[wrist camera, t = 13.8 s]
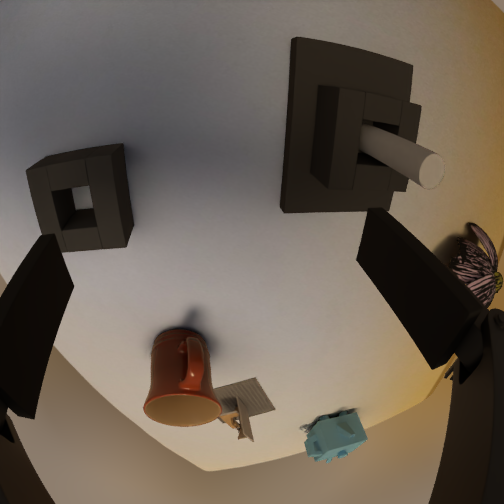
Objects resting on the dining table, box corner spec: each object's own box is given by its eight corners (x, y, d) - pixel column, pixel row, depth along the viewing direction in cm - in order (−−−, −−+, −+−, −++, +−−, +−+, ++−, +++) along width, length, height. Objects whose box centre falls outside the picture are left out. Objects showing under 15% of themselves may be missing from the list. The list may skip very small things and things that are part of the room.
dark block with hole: (317, 84, 20) (339, 87, 17) (394, 99, 22) (422, 105, 19) (309, 173, 25) (327, 189, 22) (382, 176, 26) (405, 192, 23)
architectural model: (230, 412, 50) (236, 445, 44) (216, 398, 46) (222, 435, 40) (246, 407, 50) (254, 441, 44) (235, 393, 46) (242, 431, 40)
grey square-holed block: (45, 156, 20) (25, 170, 17) (123, 142, 22) (111, 154, 18) (62, 232, 25) (48, 254, 21) (134, 225, 26) (126, 247, 23)
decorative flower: (512, 298, 33) (473, 357, 30) (463, 281, 44) (418, 329, 40) (515, 218, 28) (480, 271, 25) (457, 209, 39) (409, 251, 36)
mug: (203, 365, 40) (210, 428, 31) (143, 356, 37) (140, 422, 28) (230, 309, 34) (244, 382, 26) (156, 295, 31) (151, 372, 23)
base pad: (291, 38, 19) (366, 15, 9) (404, 64, 21) (499, 80, 11) (279, 206, 28) (327, 287, 18) (382, 205, 30) (450, 268, 20)
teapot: (368, 398, 60) (385, 435, 51) (340, 428, 70) (352, 460, 60) (310, 411, 56) (325, 454, 47) (289, 438, 66) (299, 474, 57)
